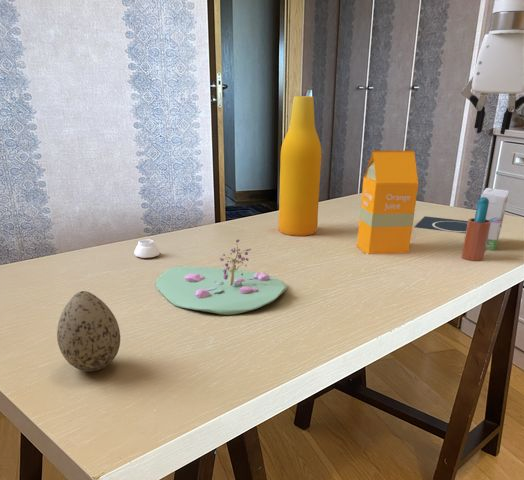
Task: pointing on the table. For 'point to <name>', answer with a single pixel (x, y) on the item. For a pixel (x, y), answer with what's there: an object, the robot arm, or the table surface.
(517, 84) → the robot arm
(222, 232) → the table surface
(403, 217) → the orange juice
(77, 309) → the decorative egg
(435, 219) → the drawing mat
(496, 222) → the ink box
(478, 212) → the marker
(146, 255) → the white jar
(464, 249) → the pen cup
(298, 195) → the beer bottle
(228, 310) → the plant
